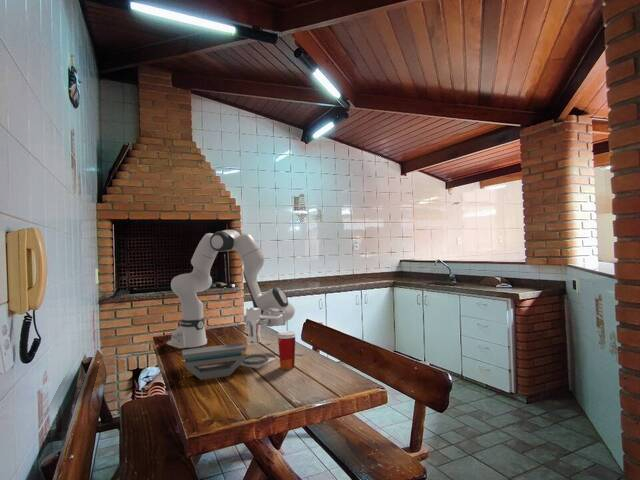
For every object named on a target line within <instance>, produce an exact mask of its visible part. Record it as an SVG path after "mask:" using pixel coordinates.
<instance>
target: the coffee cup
mask: <svg viewBox="0 0 640 480" xmlns="http://www.w3.org/2000/svg"><path fill="white" fill-rule="evenodd" d="M296 337H297V334H296V332H295V331H292V330H291V331H290V330H286V331H279V332H278V334H277V343H278V354H279V365H280V369H281V370H286V371H287V370H289V371H290V370H292V369H294V368H295V359H296V358H295V357H296Z"/></svg>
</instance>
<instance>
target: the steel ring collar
mask: <svg viewBox="0 0 640 480" xmlns="http://www.w3.org/2000/svg"><path fill="white" fill-rule="evenodd" d="M253 357H262V358H265V359H264V360H260V361H245V359H248V358H253ZM269 357H270V356H269V355H267V354H262V353H252V354H248V355H247V354H246V355H243V362H242V363H243V364H247V365H257V364H263V363H265V362H267V361H268V360H269Z"/></svg>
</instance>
